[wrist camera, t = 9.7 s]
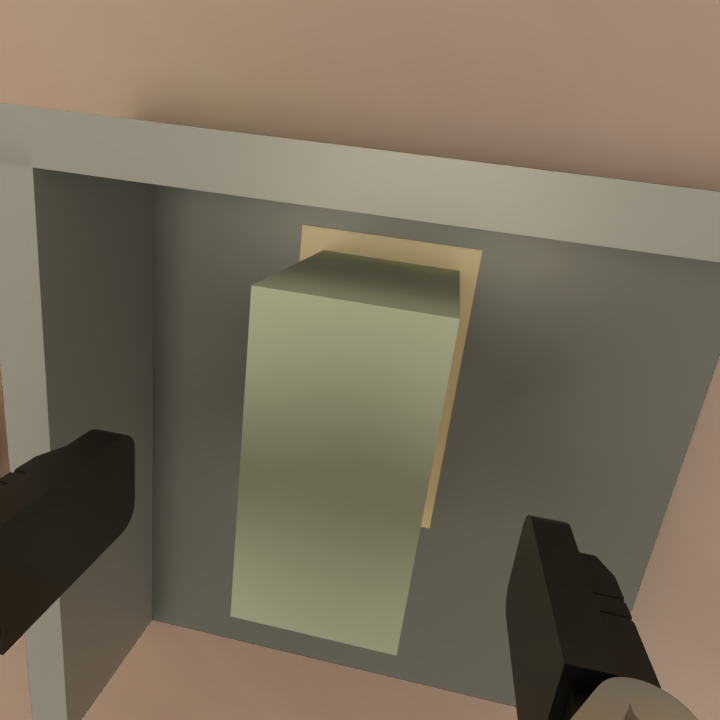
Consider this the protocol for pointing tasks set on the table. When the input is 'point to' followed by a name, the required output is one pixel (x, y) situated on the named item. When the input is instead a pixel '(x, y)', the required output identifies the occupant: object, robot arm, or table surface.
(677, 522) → the table surface
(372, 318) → the sage block
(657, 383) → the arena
